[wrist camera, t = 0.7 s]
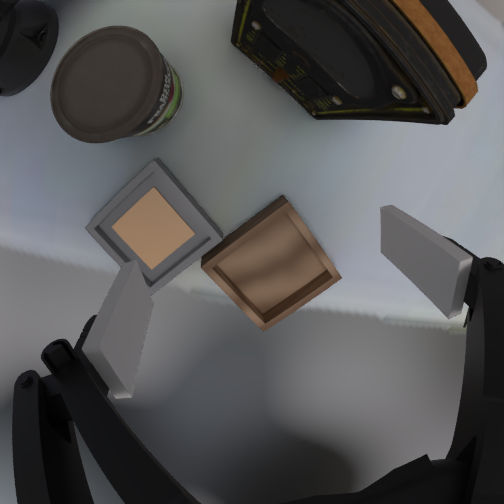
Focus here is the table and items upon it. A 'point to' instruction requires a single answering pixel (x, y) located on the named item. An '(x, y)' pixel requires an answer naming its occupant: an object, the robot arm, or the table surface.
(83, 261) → the table surface
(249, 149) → the table surface
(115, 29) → the coffee can
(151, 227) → the checker cradle
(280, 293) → the walnut tray
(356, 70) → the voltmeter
